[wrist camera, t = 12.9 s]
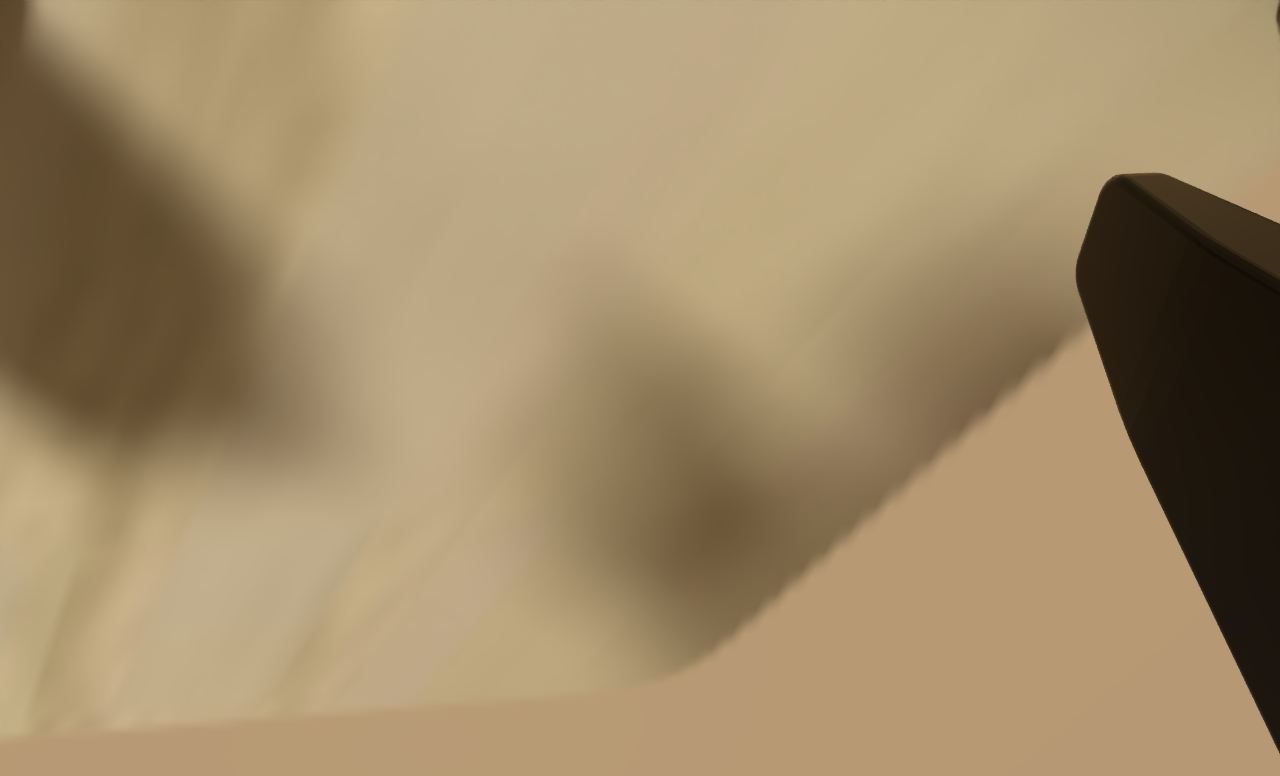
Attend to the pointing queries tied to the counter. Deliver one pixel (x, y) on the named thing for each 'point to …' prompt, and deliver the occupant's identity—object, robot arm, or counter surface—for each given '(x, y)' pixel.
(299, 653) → the counter surface
